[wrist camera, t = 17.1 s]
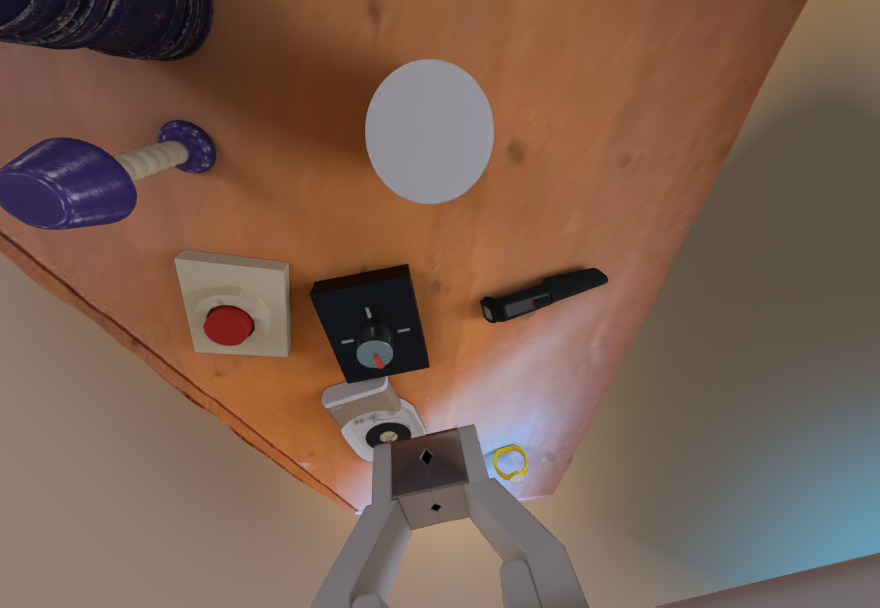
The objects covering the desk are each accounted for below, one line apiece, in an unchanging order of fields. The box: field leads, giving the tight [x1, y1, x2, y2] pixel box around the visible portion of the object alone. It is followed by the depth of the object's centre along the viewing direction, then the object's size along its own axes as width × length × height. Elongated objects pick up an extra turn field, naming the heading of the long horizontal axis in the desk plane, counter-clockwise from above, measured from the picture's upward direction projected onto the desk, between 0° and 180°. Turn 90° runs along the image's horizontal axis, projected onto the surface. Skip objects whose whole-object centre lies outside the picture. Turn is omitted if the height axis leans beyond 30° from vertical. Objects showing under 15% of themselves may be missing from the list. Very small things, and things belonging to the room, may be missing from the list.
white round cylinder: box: [365, 59, 494, 204], centre depth 26 cm, size 8×8×12 cm
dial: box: [357, 322, 393, 369], centre depth 38 cm, size 4×4×4 cm
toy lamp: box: [0, 120, 216, 230], centre depth 22 cm, size 5×5×17 cm
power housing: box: [174, 250, 291, 357], centre depth 37 cm, size 12×10×4 cm
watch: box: [493, 445, 528, 484], centre depth 59 cm, size 6×3×6 cm, turn 104°
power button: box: [203, 306, 253, 346], centre depth 34 cm, size 4×4×2 cm
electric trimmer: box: [480, 268, 608, 323], centre depth 42 cm, size 4×16×3 cm, turn 107°
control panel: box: [310, 264, 430, 384], centre depth 41 cm, size 14×11×3 cm
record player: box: [321, 376, 426, 462], centre depth 51 cm, size 12×3×20 cm
